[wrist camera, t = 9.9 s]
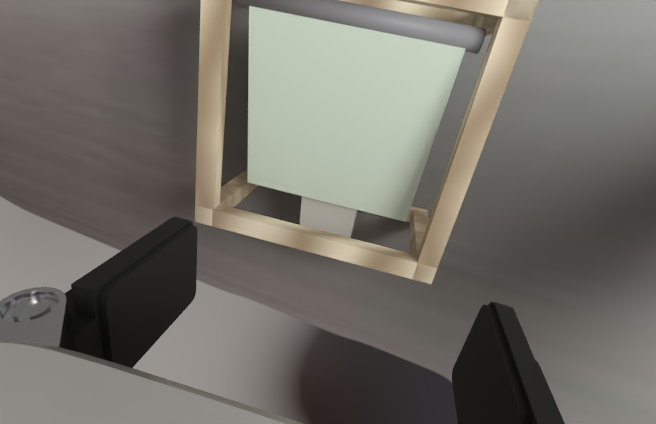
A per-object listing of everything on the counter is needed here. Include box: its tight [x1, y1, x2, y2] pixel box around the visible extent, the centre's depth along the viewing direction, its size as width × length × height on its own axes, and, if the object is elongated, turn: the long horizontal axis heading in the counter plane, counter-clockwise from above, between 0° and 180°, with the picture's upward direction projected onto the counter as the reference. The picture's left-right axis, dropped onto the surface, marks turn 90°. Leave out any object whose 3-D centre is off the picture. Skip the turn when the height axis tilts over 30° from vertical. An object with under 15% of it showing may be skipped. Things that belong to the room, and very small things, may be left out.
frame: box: [195, 0, 539, 284], centre depth 29 cm, size 20×20×12 cm
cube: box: [300, 196, 358, 238], centre depth 35 cm, size 5×5×6 cm
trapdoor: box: [237, 0, 486, 222], centre depth 26 cm, size 16×15×1 cm
